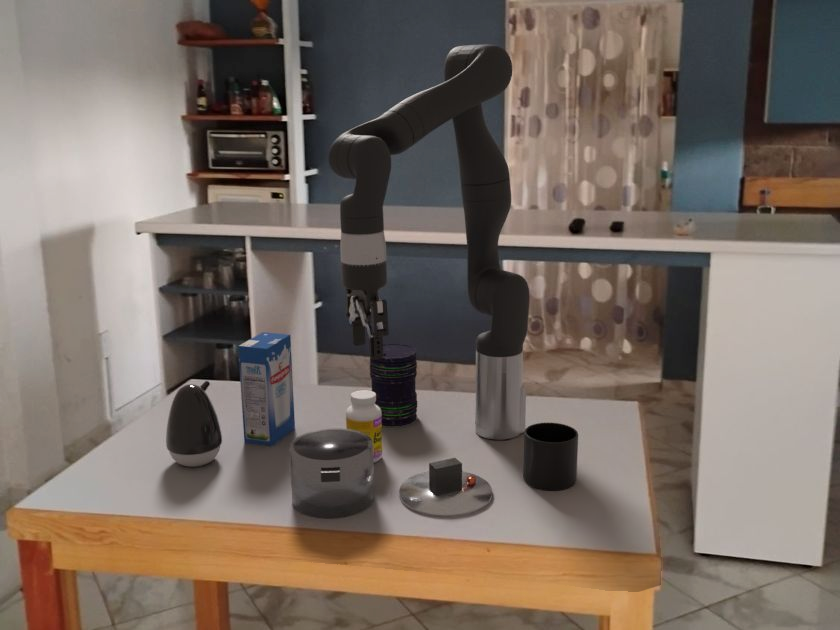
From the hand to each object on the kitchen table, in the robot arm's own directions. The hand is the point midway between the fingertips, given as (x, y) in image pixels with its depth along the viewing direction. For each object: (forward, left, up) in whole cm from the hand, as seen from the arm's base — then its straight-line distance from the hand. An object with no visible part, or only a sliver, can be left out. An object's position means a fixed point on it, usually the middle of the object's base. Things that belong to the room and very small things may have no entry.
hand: (367, 351), depth 151 cm
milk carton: (+10, -30, -25) cm, 40 cm away
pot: (+8, +2, -25) cm, 26 cm away
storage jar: (-16, -27, -25) cm, 40 cm away
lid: (-10, +9, -25) cm, 29 cm away
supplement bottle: (-3, -11, -25) cm, 27 cm away
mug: (-30, +11, -25) cm, 41 cm away
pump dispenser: (+26, -24, -25) cm, 43 cm away
